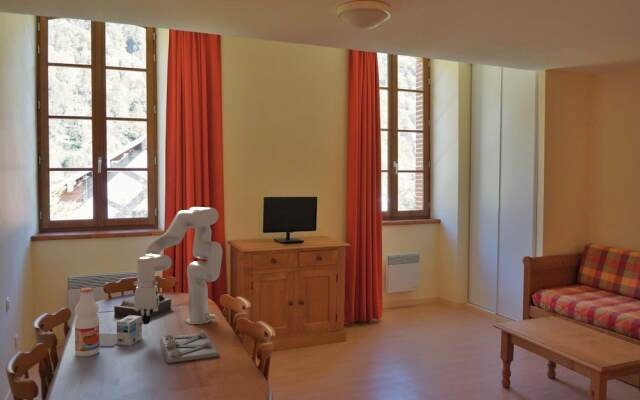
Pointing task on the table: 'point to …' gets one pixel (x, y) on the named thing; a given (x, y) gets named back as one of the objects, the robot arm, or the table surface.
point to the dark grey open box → (128, 309)
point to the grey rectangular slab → (188, 347)
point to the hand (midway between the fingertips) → (146, 323)
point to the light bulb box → (129, 330)
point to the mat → (107, 340)
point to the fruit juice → (86, 324)
